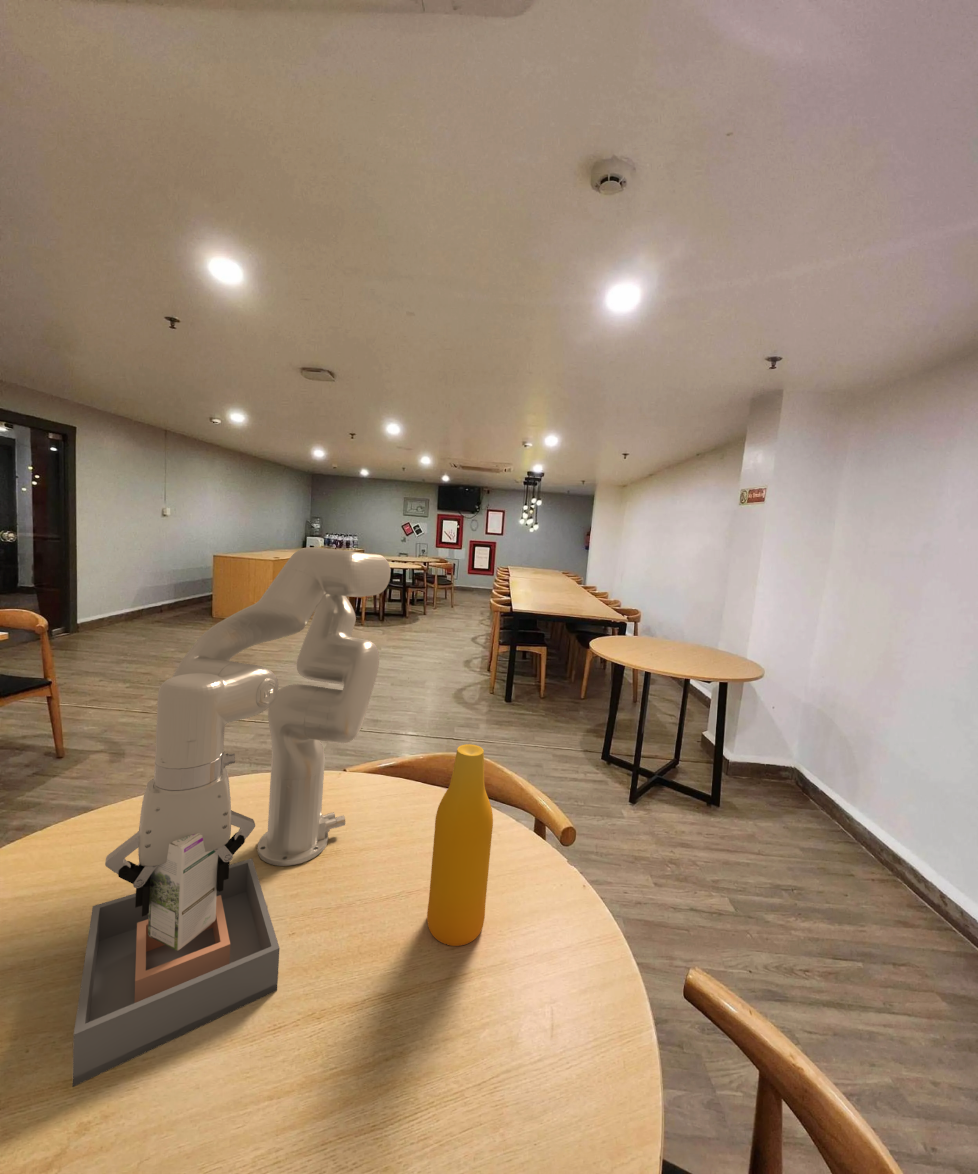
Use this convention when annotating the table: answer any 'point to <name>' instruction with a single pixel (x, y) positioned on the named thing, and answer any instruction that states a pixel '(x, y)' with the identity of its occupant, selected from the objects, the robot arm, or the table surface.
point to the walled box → (169, 975)
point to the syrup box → (183, 893)
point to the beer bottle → (461, 853)
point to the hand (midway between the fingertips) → (183, 895)
